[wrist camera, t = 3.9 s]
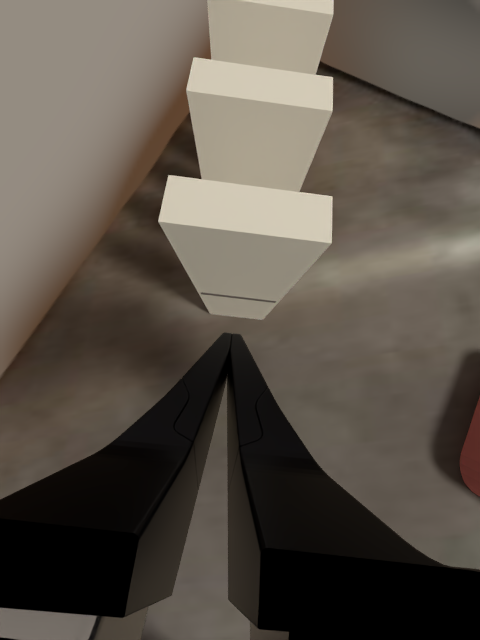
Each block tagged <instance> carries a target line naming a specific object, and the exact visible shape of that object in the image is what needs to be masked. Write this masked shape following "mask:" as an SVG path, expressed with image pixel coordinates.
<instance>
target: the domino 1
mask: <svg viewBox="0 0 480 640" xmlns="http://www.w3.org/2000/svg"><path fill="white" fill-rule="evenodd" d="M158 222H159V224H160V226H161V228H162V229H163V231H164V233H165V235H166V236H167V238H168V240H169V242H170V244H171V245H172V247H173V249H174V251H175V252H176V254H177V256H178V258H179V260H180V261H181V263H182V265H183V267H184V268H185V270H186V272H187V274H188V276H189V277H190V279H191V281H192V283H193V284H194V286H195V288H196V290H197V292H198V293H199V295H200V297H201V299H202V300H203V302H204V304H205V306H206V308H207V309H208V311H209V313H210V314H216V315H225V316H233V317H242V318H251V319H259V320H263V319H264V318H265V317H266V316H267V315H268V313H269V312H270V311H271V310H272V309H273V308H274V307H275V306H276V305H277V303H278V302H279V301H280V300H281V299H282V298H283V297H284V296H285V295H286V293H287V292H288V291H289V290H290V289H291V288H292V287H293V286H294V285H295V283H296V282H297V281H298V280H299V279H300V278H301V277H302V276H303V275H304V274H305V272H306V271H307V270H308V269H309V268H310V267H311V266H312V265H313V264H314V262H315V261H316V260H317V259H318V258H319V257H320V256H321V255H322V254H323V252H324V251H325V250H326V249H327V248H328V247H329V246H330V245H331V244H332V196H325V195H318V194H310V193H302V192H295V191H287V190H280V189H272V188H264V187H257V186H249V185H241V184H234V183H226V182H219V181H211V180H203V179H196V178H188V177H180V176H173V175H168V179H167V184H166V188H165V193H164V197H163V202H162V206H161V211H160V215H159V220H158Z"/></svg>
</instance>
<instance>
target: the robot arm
mask: <svg viewBox="0 0 480 640" xmlns="http://www.w3.org/2000/svg"><path fill="white" fill-rule="evenodd" d="M227 374H228V375H227ZM226 380H227V450H228V600H229V601H230V602H231V603H232V604H233V605H234V606H235V607H236V608H237V609H238V610H239V611H240V612H241V613H242V614H243V615H244V616H245V617H247V618H248V619H249V620H250V640H480V570H478V569H471V568H460V567H450V566H447V565H443V564H441V563H439V562H437V561H435V560H433V559H431V558H429V557H428V556H426V555H424V554H423V553H421V552H420V551H418V550H417V549H415V548H414V547H413V546H411V545H410V544H409V543H408V542H406V541H405V540H404V539H402V538H401V537H400V536H399V535H398V534H396V533H395V532H394V531H393V530H392V529H391V528H389V527H388V526H387V525H386V524H385V523H383V522H382V521H381V520H380V519H379V518H378V517H376V516H375V515H374V514H373V513H372V512H370V511H369V510H368V509H367V508H366V507H365V506H363V505H362V504H361V503H360V502H359V501H357V500H356V499H355V498H354V497H353V496H352V495H350V494H349V493H348V492H347V491H346V490H344V489H343V488H342V487H341V486H340V485H339V484H337V483H336V482H335V481H334V480H333V479H331V478H330V477H329V476H328V475H327V474H326V473H325V472H324V471H323V470H322V468H321V467H320V466H319V465H318V464H317V462H316V461H315V460H314V459H313V457H312V456H311V454H310V453H309V451H308V450H307V448H306V447H305V445H304V444H303V442H302V441H301V439H300V438H299V437H298V435H297V434H296V432H295V431H294V429H293V428H292V426H291V425H290V423H289V422H288V420H287V419H286V417H285V415H284V414H283V412H282V411H281V409H280V408H279V406H278V404H277V402H276V401H275V399H274V397H273V395H272V393H271V391H270V389H269V388H268V386H267V384H266V382H265V380H264V378H263V376H262V374H261V372H260V370H259V368H258V367H257V365H256V363H255V361H254V359H253V357H252V355H251V353H250V351H249V349H248V347H247V345H246V343H245V342H244V340H243V338H242V336H241V335H240V334H231V333H223V334H222V335H221V336H220V337H219V338H218V339H217V340H216V341H215V342H214V343H213V345H212V346H211V347H210V348H209V349H208V350H207V351H206V352H205V353H204V354H203V355H202V357H201V358H200V359H199V360H198V361H197V362H196V363H195V364H194V365H193V366H192V367H191V369H190V370H189V371H188V372H187V373H186V374H185V375H184V376H183V377H182V379H180V380H179V381H178V383H177V384H176V385H175V386H174V387H173V388H172V389H171V390H170V391H169V392H168V393H167V394H166V395H165V396H164V397H163V398H162V399H161V400H160V401H159V402H157V403H156V404H155V405H154V406H153V407H152V408H151V409H150V410H149V411H147V412H146V413H145V414H144V415H143V416H142V417H141V418H139V419H138V420H137V421H136V422H135V423H134V424H133V425H132V426H130V427H129V428H128V429H127V430H126V431H125V432H124V433H122V434H121V435H120V436H119V437H118V438H117V439H115V440H114V441H113V442H111V443H110V444H109V445H107V446H106V447H104V448H103V449H101V450H100V451H98V452H96V453H95V454H93V455H91V456H89V457H87V458H85V459H83V460H81V461H79V462H77V463H74V464H72V465H70V466H68V467H66V468H64V469H62V470H60V471H58V472H56V473H54V474H52V475H50V476H48V477H46V478H44V479H42V480H40V481H37V482H35V483H33V484H31V485H29V486H27V487H25V488H23V489H21V490H19V491H17V492H15V493H13V494H11V495H9V496H7V497H5V498H3V499H0V640H141V635H142V631H143V627H144V623H145V619H146V615H147V611H148V607H149V606H150V605H152V604H154V603H156V602H158V601H161V600H163V599H165V598H167V597H169V596H171V595H172V592H173V588H174V584H175V580H176V576H177V573H178V569H179V565H180V561H181V557H182V553H183V549H184V545H185V541H186V537H187V533H188V529H189V525H190V521H191V518H192V514H193V510H194V506H195V502H196V498H197V494H198V490H199V486H200V482H201V478H202V474H203V470H204V466H205V462H206V459H207V455H208V451H209V447H210V443H211V439H212V435H213V431H214V427H215V423H216V419H217V415H218V411H219V407H220V404H221V400H222V396H223V392H224V388H225V384H226Z"/></svg>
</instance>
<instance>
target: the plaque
mask: <svg viewBox="0 0 480 640" xmlns="http://www.w3.org/2000/svg"><path fill="white" fill-rule="evenodd" d="M460 472H461V475H462V478H463V481H464V483H465V484H466V485H467V486H468V488H469V489H470V490H471V491H472V492H473V493H475V494H476V495H478V496H479V497H480V397H479V400H478V403H477V406H476V409H475V412H474V415H473V418H472V421H471V424H470V427H469V430H468V433H467V436H466V439H465V442H464V445H463V449H462V452H461V455H460Z"/></svg>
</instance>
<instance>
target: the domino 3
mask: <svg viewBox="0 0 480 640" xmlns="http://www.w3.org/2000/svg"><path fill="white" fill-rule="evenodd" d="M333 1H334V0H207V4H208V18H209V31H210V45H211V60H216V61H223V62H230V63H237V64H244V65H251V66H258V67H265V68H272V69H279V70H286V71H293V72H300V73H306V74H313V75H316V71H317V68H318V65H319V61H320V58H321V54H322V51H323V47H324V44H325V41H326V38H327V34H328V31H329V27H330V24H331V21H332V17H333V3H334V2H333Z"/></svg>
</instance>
